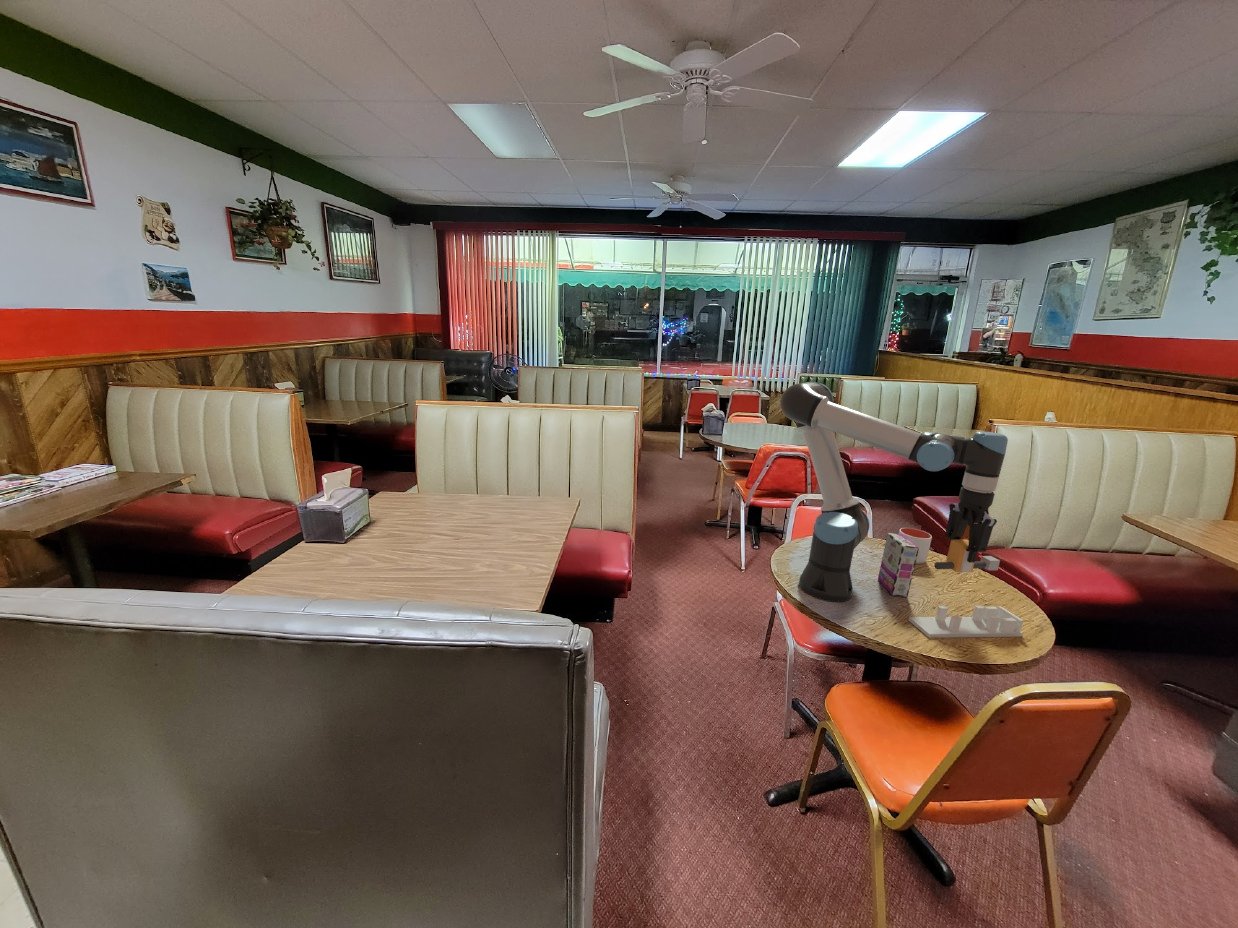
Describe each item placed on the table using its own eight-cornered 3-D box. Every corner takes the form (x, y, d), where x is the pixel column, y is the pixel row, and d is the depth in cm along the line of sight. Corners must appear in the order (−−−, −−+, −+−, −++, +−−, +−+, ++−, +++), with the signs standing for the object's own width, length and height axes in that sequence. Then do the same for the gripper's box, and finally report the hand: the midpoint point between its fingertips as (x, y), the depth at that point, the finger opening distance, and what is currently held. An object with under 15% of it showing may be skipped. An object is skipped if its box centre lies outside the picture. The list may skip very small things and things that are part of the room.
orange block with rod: (941, 572, 135) (948, 545, 133) (931, 565, 139) (937, 539, 137) (999, 571, 138) (1006, 544, 136) (987, 564, 142) (993, 539, 140)
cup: (927, 567, 169) (933, 540, 167) (895, 560, 173) (900, 534, 171) (924, 556, 178) (930, 531, 176) (893, 550, 182) (898, 525, 180)
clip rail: (928, 637, 128) (932, 620, 126) (908, 620, 135) (912, 604, 134) (1022, 636, 130) (1027, 619, 129) (997, 619, 138) (1001, 603, 137)
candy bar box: (909, 597, 148) (920, 547, 144) (891, 596, 148) (902, 546, 144) (893, 580, 158) (903, 533, 154) (877, 578, 159) (886, 531, 155)
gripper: (1018, 499, 125) (996, 582, 131) (964, 480, 141) (947, 554, 147) (992, 499, 124) (971, 582, 130) (941, 479, 140) (924, 554, 146)
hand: (958, 567), depth 138 cm, fingers closed on orange block with rod, 4 cm apart
